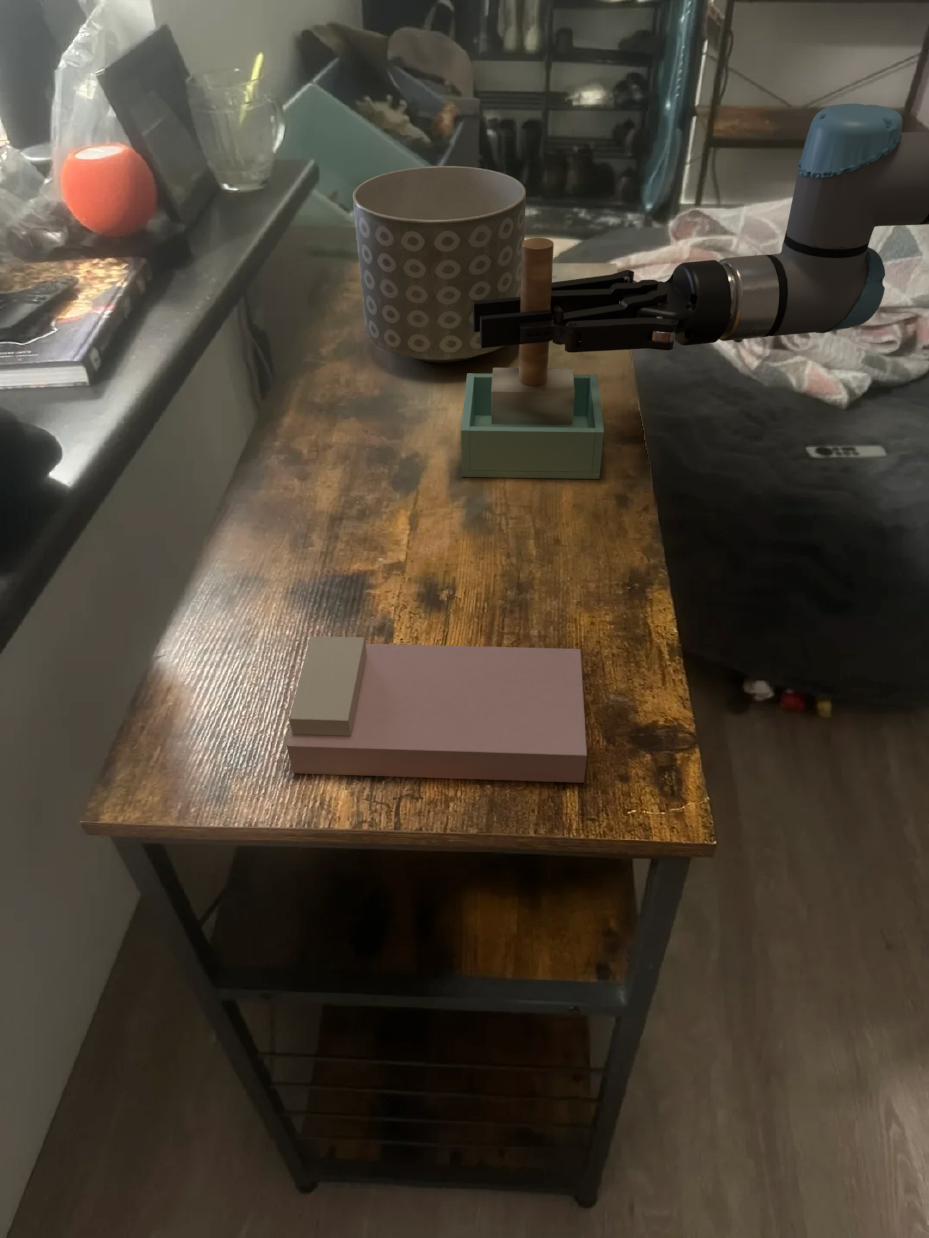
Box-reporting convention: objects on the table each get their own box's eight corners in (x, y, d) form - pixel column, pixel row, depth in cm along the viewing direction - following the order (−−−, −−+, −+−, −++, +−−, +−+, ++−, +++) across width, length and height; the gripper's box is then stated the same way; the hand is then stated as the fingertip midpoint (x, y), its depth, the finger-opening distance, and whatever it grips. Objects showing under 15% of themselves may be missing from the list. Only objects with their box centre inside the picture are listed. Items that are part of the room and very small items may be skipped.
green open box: (593, 419, 95) (597, 374, 92) (599, 479, 87) (604, 432, 83) (467, 418, 96) (467, 373, 92) (461, 477, 87) (460, 430, 84)
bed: (577, 676, 67) (582, 632, 64) (583, 783, 60) (589, 739, 57) (318, 669, 68) (310, 626, 65) (292, 773, 61) (282, 730, 58)
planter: (524, 316, 115) (528, 166, 103) (518, 386, 101) (522, 221, 89) (380, 313, 116) (368, 165, 104) (355, 382, 102) (337, 219, 90)
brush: (570, 400, 90) (582, 233, 79) (572, 425, 86) (584, 253, 75) (492, 400, 91) (493, 233, 79) (491, 424, 87) (491, 253, 76)
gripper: (744, 375, 81) (494, 402, 78) (682, 307, 92) (462, 328, 90) (761, 295, 76) (494, 320, 73) (693, 233, 87) (461, 253, 85)
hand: (477, 324), depth 81 cm, fingers closed on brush, 3 cm apart
